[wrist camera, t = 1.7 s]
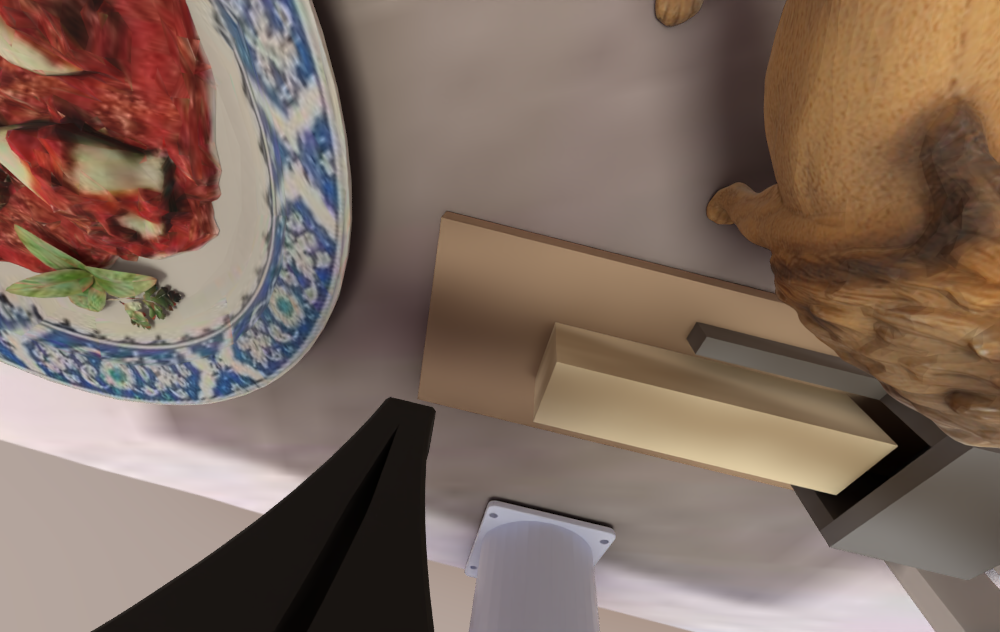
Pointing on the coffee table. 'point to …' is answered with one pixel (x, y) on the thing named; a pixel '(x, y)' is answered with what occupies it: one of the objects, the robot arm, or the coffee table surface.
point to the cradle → (708, 335)
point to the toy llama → (952, 599)
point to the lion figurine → (886, 194)
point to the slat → (704, 411)
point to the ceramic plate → (168, 194)
